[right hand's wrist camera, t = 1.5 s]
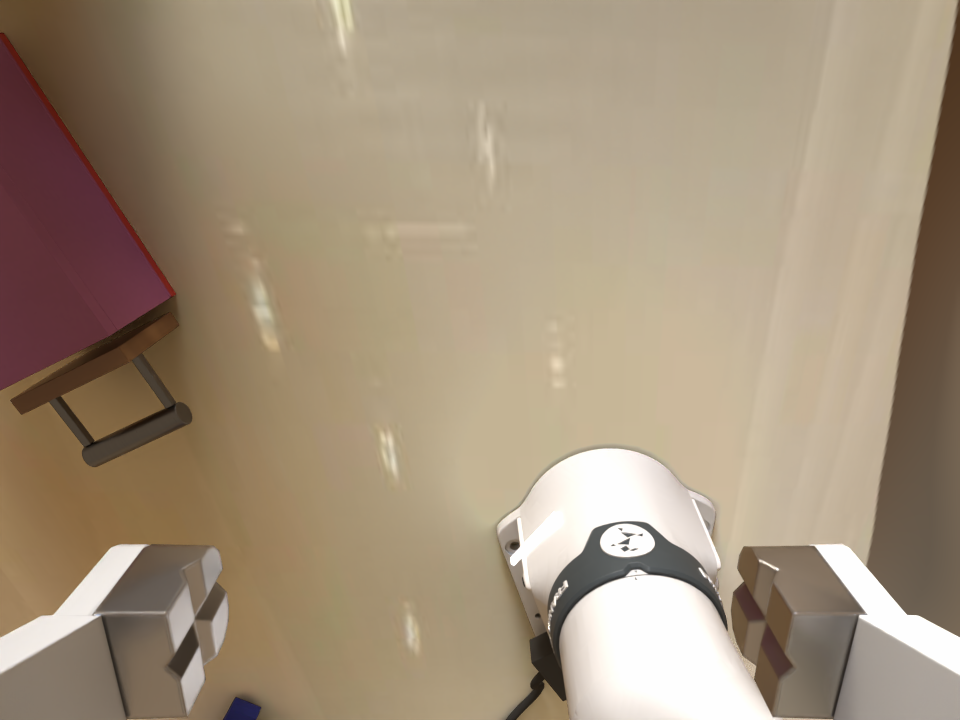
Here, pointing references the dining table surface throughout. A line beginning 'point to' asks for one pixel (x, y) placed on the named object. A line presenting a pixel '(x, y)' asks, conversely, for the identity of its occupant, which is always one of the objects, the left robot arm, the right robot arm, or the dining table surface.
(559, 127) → the dining table surface
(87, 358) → the drawer
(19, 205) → the cabinet
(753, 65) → the dining table surface
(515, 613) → the dining table surface
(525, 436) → the dining table surface
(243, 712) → the figurine
